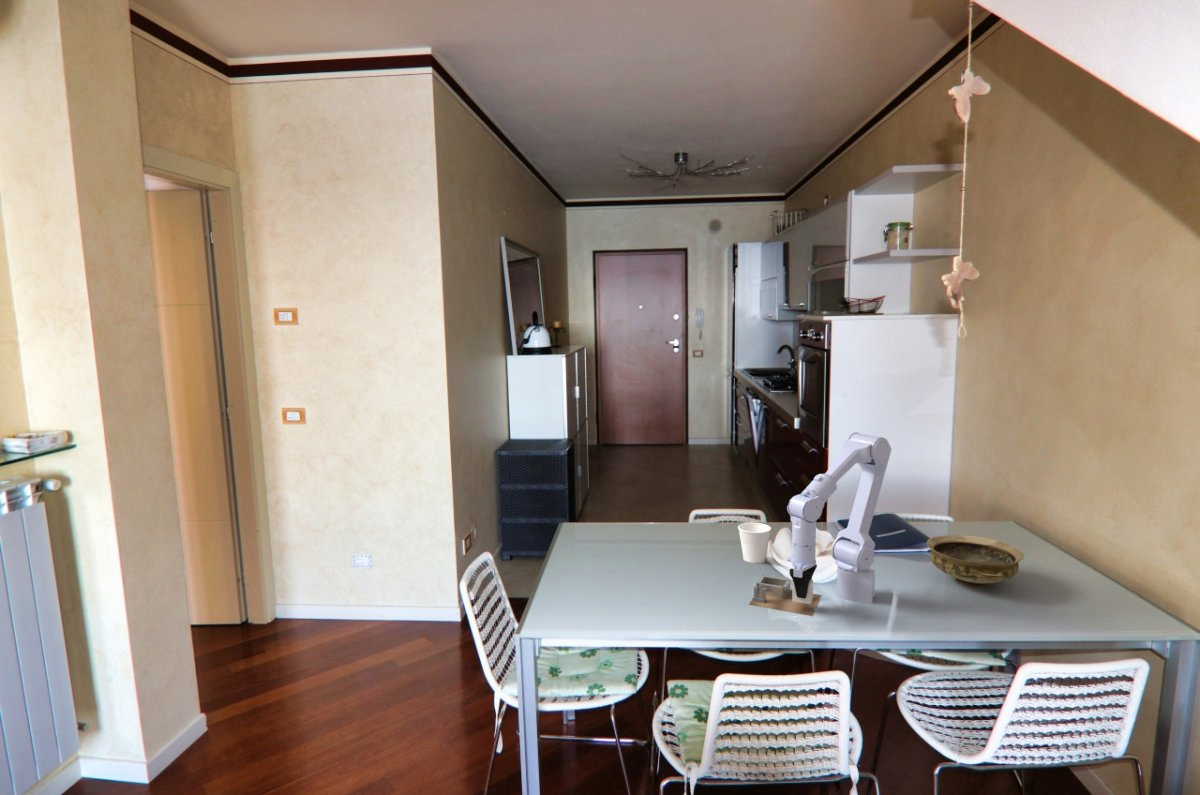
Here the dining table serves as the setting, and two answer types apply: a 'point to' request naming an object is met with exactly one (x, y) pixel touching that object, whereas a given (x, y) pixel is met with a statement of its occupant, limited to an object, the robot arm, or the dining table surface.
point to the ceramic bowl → (974, 559)
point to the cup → (754, 541)
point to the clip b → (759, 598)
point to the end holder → (774, 586)
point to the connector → (808, 597)
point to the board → (789, 604)
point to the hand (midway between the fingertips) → (802, 594)
